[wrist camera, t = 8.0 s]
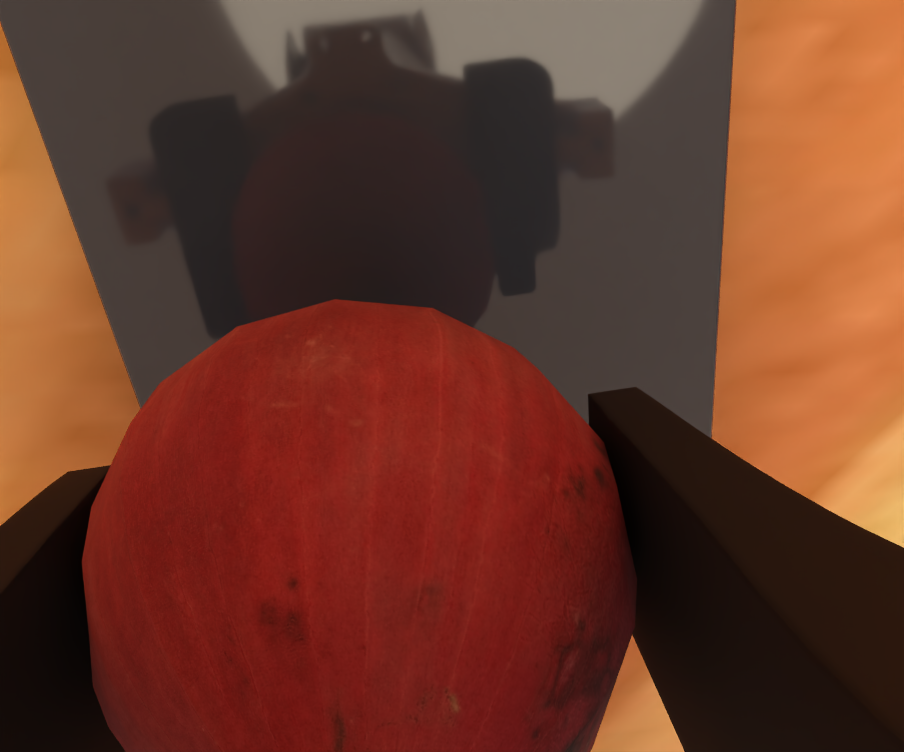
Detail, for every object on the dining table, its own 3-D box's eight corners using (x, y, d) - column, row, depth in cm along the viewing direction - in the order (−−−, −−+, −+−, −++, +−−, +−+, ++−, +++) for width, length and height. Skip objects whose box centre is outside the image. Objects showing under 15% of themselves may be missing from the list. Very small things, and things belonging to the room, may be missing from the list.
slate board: (696, 512, 17) (707, 531, 16) (216, 586, 16) (211, 608, 16) (786, -1339, 7) (822, -1446, 6) (-428, -1232, 6) (-497, -1335, 6)
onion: (594, 240, 11) (959, 730, 4) (513, 550, 14) (661, 1159, 7) (168, 185, 10) (-226, 698, 3) (169, 529, 13) (-49, 1209, 6)
